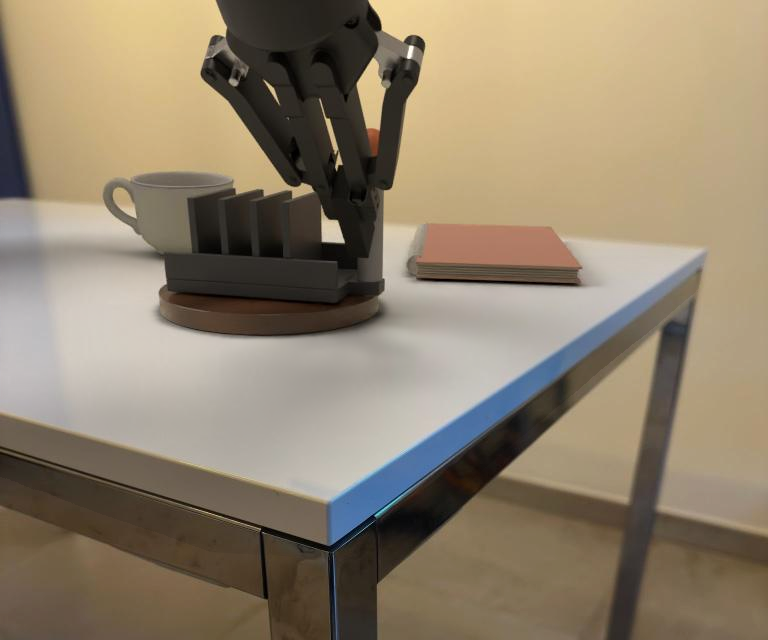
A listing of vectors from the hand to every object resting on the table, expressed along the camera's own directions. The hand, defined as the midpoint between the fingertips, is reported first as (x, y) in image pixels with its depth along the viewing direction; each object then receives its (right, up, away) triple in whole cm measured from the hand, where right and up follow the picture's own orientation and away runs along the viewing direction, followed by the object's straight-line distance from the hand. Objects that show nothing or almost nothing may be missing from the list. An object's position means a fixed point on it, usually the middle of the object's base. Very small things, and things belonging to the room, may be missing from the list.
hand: (362, 242), depth 59 cm
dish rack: (-6, -2, +6) cm, 9 cm away
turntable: (-8, -3, +7) cm, 11 cm away
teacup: (-22, +9, +28) cm, 37 cm away
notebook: (+13, +8, +29) cm, 33 cm away
